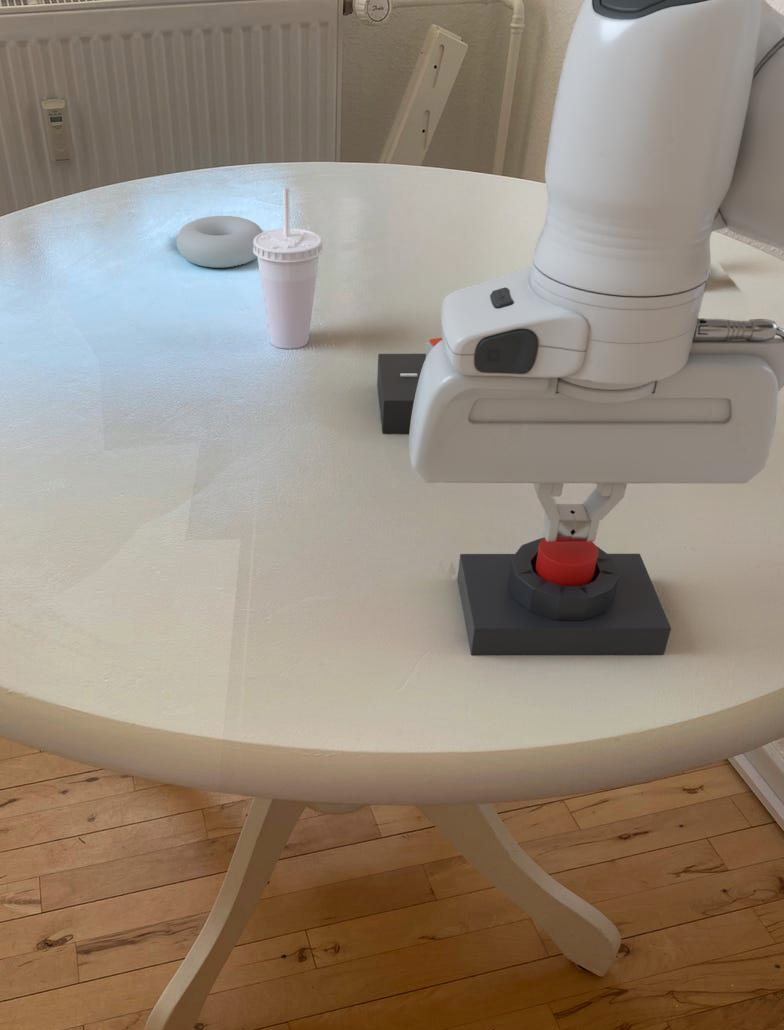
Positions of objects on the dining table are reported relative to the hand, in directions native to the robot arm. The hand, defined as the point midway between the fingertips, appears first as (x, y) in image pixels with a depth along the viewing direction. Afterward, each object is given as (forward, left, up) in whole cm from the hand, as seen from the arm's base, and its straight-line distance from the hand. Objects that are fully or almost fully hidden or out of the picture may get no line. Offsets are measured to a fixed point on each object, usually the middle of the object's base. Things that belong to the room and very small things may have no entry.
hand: (568, 536), depth 65 cm
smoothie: (+18, -43, -6) cm, 47 cm away
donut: (+26, -66, -6) cm, 71 cm away
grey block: (+4, -29, -3) cm, 29 cm away
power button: (0, 0, -3) cm, 3 cm away
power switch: (0, 0, -6) cm, 6 cm away
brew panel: (+4, -29, -6) cm, 30 cm away
